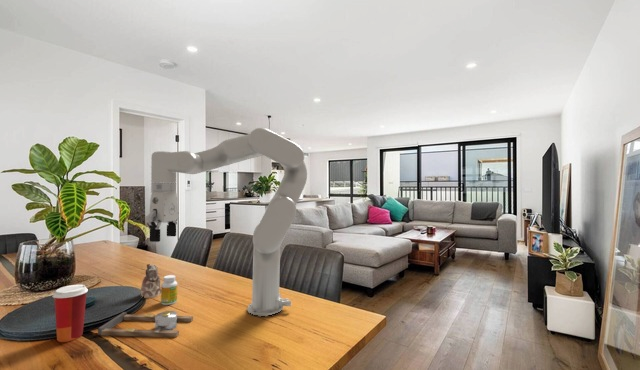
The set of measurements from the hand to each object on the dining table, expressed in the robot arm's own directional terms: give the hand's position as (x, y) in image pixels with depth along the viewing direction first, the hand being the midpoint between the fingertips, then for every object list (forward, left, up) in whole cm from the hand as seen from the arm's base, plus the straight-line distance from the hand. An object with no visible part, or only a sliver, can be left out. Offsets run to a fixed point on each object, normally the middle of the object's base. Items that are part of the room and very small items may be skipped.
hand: (163, 238), depth 100 cm
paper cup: (+18, +16, -26) cm, 35 cm away
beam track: (-1, +9, -26) cm, 27 cm away
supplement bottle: (+3, -10, -26) cm, 28 cm away
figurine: (+14, -17, -26) cm, 34 cm away
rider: (-6, +9, -26) cm, 28 cm away
